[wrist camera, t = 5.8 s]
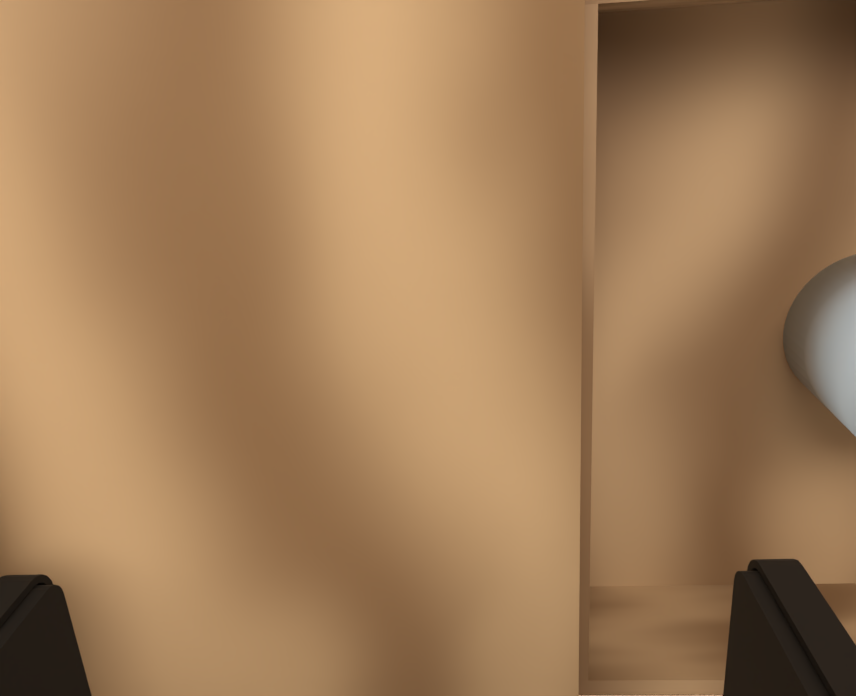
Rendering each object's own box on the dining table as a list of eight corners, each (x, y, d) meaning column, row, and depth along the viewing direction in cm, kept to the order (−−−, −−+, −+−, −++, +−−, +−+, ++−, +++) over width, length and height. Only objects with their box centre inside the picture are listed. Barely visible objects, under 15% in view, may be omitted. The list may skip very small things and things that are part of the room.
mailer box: (1061, -42, 18) (1236, -71, 14) (933, 585, 25) (1027, 694, 20) (551, -5, 19) (572, -23, 15) (554, 589, 25) (569, 694, 21)
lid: (-340, -58, 7) (-295, -31, 9) (86, 1105, 13) (69, 1005, 15) (635, -43, 13) (563, -29, 15) (612, 749, 20) (563, 704, 21)
